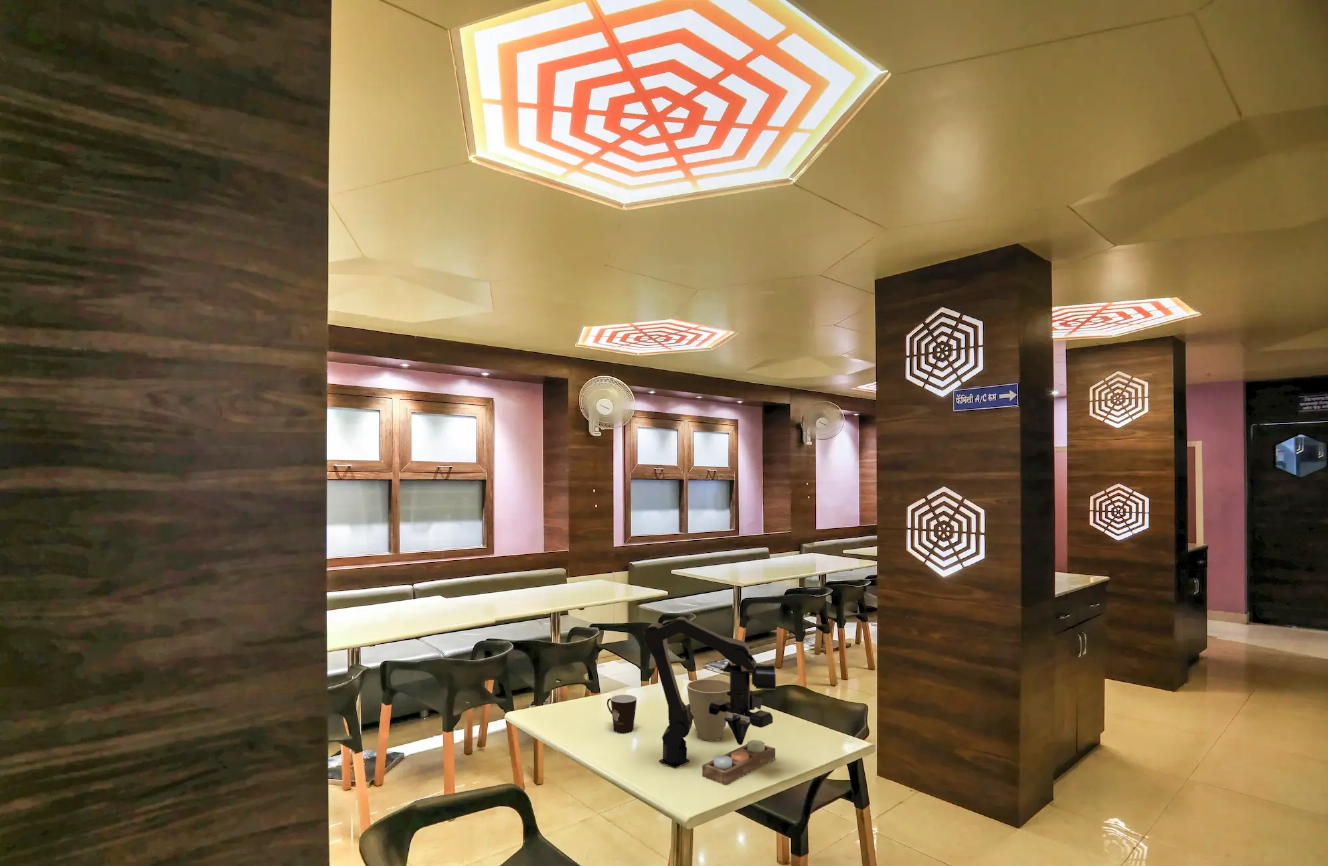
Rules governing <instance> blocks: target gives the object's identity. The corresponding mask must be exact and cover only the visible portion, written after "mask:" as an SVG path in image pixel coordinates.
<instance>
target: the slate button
mask: <svg viewBox="0 0 1328 866" xmlns="http://www.w3.org/2000/svg"><path fill="white" fill-rule="evenodd" d="M723 755H724V754H723ZM723 755H716V756H714V757H713V760H714V767H716V768H719V769H721V770H724V771H725V770H727V769H729V768H731V767H732V758H731V757H728V756H723Z"/></svg>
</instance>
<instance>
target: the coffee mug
mask: <svg viewBox="0 0 1328 866" xmlns="http://www.w3.org/2000/svg"><path fill="white" fill-rule="evenodd" d="M637 700H638V697H636V696H635V695H632V694H617V695H616V694H615V695H613V696H612V697H610V698H608V699H607V700H606V701H607V702H606V706H607V709H608V711H609V712H610V714H611V715H612V717H611V718H612V724H613V725H612V726H613V731H614V732H615V733H616V732H617V733H616V734H623V735H624V734H629V732H630V733H632V732H633V731H634V728H635V727H634V725H635V719H636V708H637ZM609 703H610V705H611V707H610V705H609Z"/></svg>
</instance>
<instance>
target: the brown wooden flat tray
mask: <svg viewBox="0 0 1328 866" xmlns="http://www.w3.org/2000/svg"><path fill="white" fill-rule="evenodd" d="M736 751H741V752H746V753H748V754H749V759H747V760H745V761H743V762H741V761H738V760H735V759H732V767H731V768H729V769H727V770H725V771H724V770H721V769H719V768H716V767H714V759H712V760H710V761H708V762H705V763H703V764H702V766H701V767H702V772H701V773H702V774H701V775H702V776H701V777H703V778H705V777H706V778H705V779H708V780H710V779H711V781H713V782H716V781H717V782H716V783H718V784H721V783H722V785H724V786H727V785H728V784H731V783H732V781H733V782H734V780H735V781H736V779H737V780H738V779H740V778H742V777H744V776H745V775H748V774H749V773H752V772H753V770H754V771H755V770H757V769H759V768H761V767H763V766H765V765H767V764H768V762H769V761H771V762H773V761H774V760H776V748H775V747H772V746H768V745H765V751H763V752H761V753H759V754H758V753H754V752H751V751H748V750H747V743H746V744H743V746H742V745H741V746H740V747H738V748H735V749H733V750H731V751H729V752H727V753H725V754H723V756H728V757H731V753H733V752H736ZM773 759H774V760H773ZM772 760H773V761H772ZM766 763H767V764H766ZM769 763H770V762H769ZM764 764H765V765H764ZM762 765H763V766H762ZM758 767H759V768H758ZM751 771H752V772H751ZM747 773H748V774H747ZM743 775H744V776H743ZM739 777H740V778H739Z"/></svg>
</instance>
